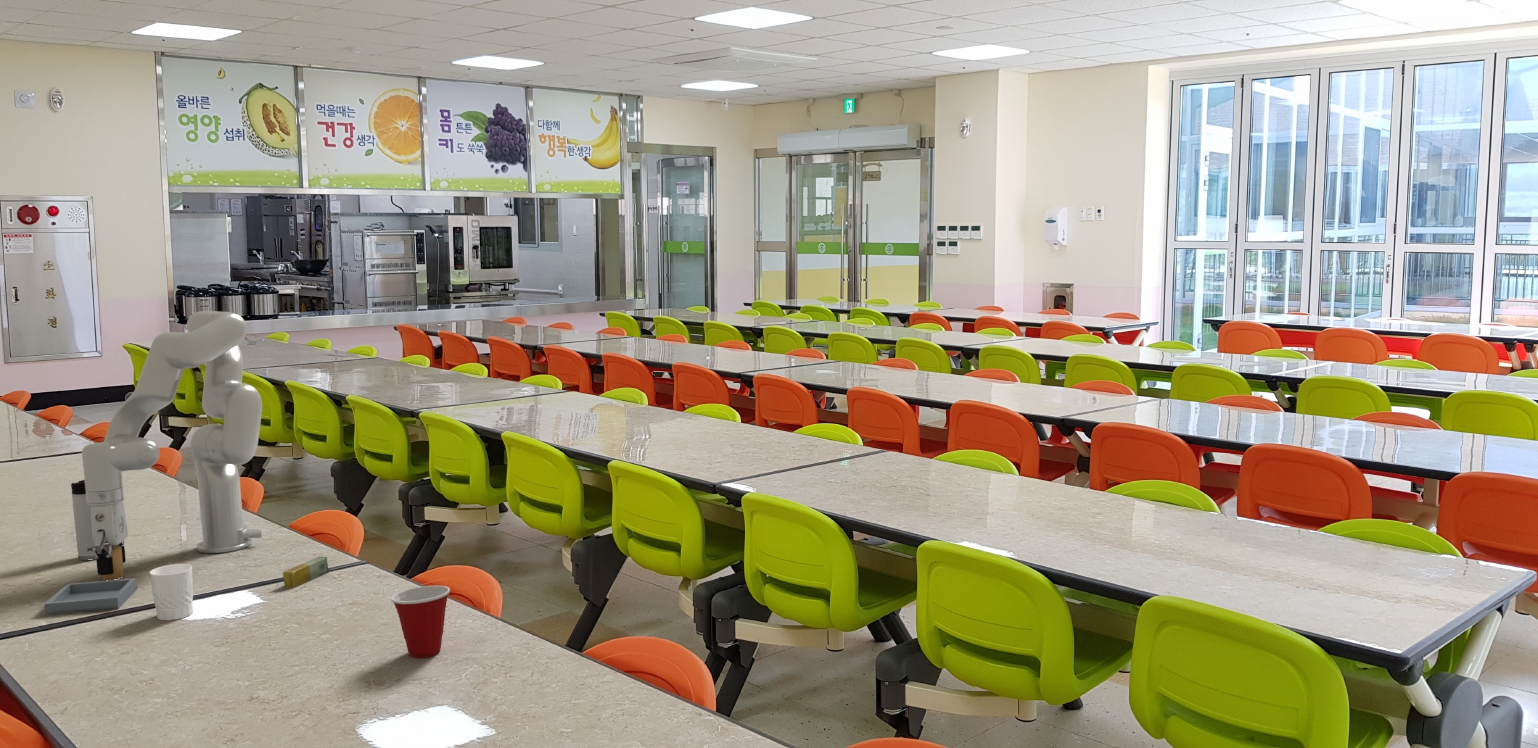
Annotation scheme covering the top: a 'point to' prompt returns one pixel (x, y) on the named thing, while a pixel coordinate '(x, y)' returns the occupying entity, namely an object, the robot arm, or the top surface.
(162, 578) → the white cup
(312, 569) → the medication box
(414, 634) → the plastic cup
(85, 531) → the travel mug
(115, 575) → the battery cell
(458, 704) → the top surface
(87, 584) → the tray
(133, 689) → the top surface
